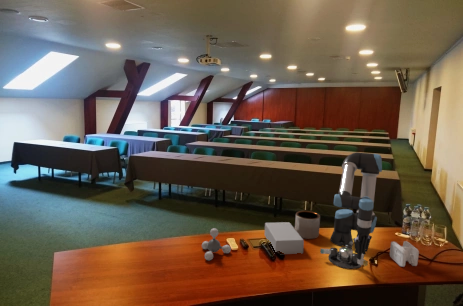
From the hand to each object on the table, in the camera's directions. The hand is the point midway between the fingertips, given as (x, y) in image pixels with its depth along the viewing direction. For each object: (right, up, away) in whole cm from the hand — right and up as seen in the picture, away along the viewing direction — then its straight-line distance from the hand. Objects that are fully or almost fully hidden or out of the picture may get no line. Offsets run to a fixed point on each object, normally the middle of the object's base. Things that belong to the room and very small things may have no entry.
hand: (359, 263), depth 188 cm
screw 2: (+1, -3, +5) cm, 6 cm away
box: (-40, +1, +36) cm, 53 cm away
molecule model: (-88, 0, +20) cm, 90 cm away
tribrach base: (-4, -3, +14) cm, 15 cm away
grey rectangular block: (-14, -1, +14) cm, 20 cm away
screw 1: (+2, 0, +22) cm, 22 cm away
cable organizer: (+32, -4, +14) cm, 36 cm away
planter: (-19, +4, +51) cm, 55 cm away
